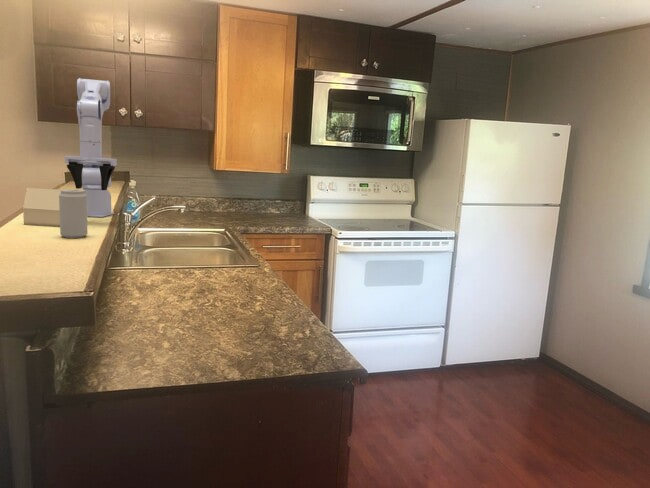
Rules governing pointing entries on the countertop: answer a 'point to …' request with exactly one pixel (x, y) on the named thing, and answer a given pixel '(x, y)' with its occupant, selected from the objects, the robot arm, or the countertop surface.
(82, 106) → the robot arm
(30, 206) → the flap
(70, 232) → the beverage can
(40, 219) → the carton
